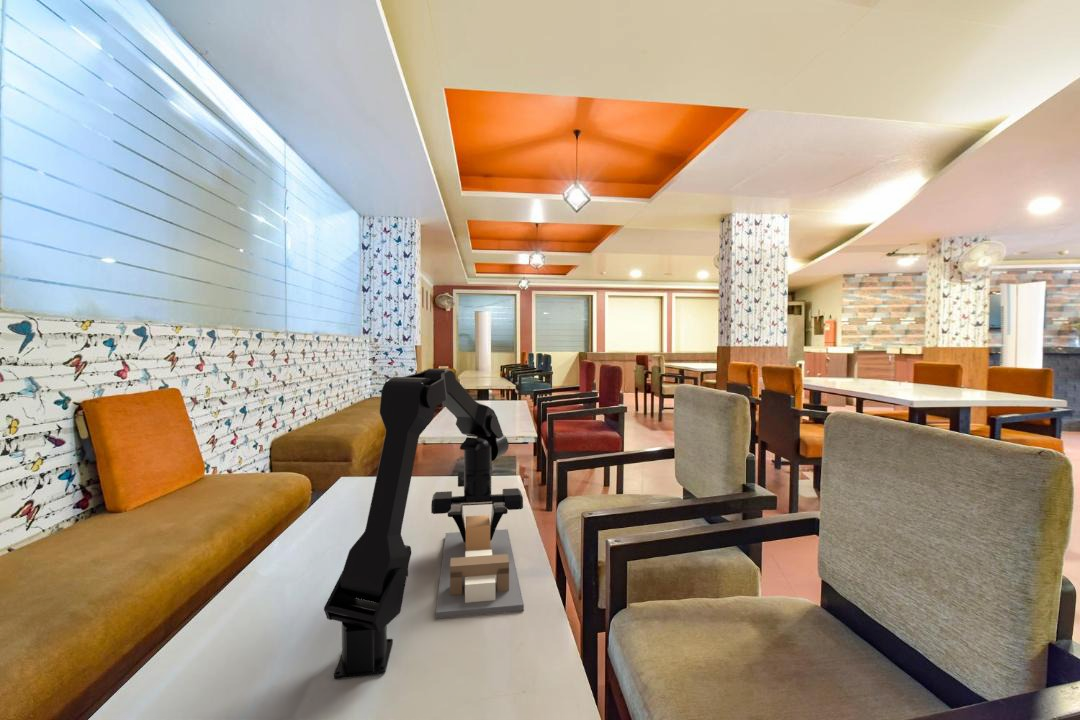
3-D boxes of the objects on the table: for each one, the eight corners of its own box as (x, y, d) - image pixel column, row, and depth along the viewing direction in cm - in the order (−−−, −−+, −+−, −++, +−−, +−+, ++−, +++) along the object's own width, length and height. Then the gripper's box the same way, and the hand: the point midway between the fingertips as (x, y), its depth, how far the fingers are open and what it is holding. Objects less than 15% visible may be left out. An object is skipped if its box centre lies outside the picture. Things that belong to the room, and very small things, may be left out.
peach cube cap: (490, 550, 91) (490, 526, 91) (465, 551, 90) (465, 527, 90) (488, 537, 97) (488, 515, 97) (465, 539, 96) (465, 516, 96)
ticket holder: (523, 610, 72) (523, 574, 72) (436, 618, 70) (435, 581, 70) (507, 533, 102) (507, 507, 102) (445, 537, 100) (445, 511, 100)
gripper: (517, 456, 103) (517, 523, 103) (435, 459, 100) (435, 527, 100) (523, 469, 92) (523, 544, 92) (431, 473, 89) (431, 550, 89)
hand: (477, 540), depth 94 cm, fingers closed on peach cube cap, 5 cm apart
